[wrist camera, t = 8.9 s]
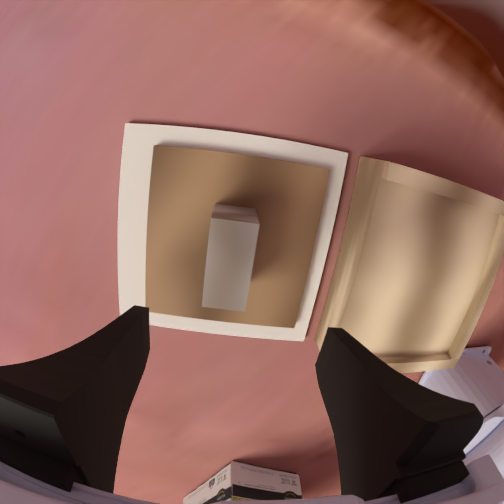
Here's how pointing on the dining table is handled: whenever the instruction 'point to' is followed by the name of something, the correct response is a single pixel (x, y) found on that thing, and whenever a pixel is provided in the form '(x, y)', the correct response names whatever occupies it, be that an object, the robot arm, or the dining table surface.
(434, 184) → the case
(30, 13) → the dining table surface
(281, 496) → the tea box
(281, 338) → the mat
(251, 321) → the lid
